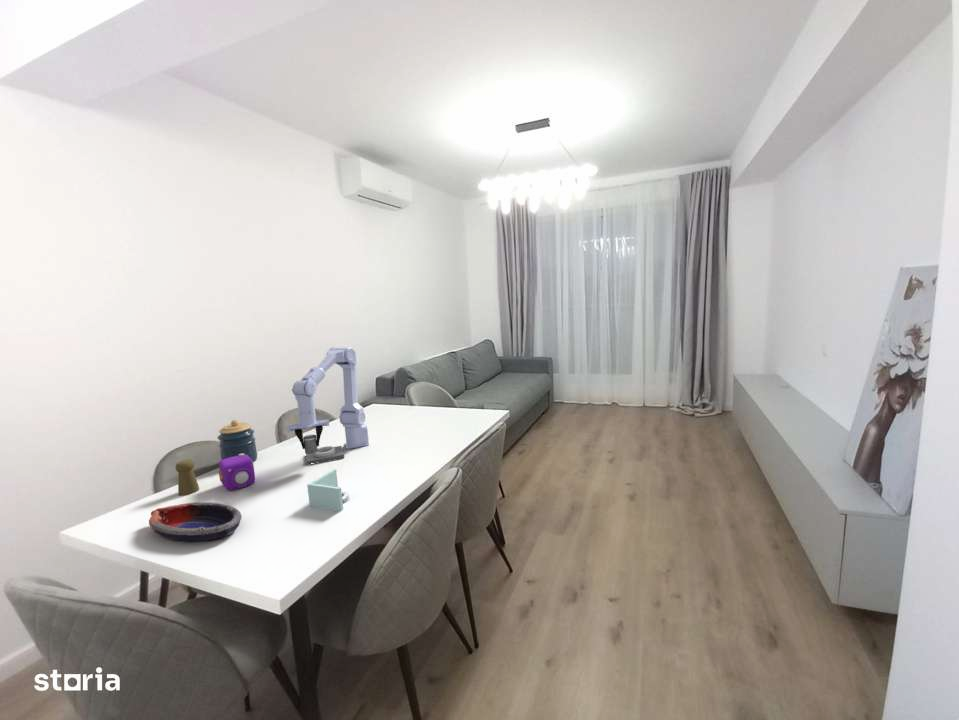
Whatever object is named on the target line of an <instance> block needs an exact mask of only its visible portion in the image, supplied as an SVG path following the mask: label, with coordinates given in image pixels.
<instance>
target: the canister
mask: <svg viewBox="0 0 959 720" xmlns="http://www.w3.org/2000/svg"><path fill="white" fill-rule="evenodd" d="M218 433H219V435H218V436H217V440H218V441H219V443H218V447H219V455H220V461H221V460H223V459H227V458H230V457H234V456H238V455H239V454H241V453H244V454H246V455H248V456H249V457H250V458H251V459H252V461H253V463H254V462H255V461H257V459H258V450H257V445H256V438H255V437H254V433H255V430H254V429H252V425H251V424H248V423H247V422H239V421H238V420H236V419H233V420H232V421H231V422H230V424H227V425H225V426H223V427H222V428H220V430H219V431H218Z"/></svg>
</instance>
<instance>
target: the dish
mask: <svg viewBox="0 0 959 720" xmlns="http://www.w3.org/2000/svg"><path fill="white" fill-rule="evenodd" d="M242 516H243V515H242V513H241V511H240V510H238V509H237V508H236V507H234V506H233V505H229V504H226V503H225V504H224V503H220V502H211V501H210V502H208V501H198V502H197V501H196V502H187V503H180V504H175V505H169V506H165V507H160V508H157V509H154V510H151V512H150V517H149V519H148V525H149V527H150V528H151V530H153V532H154V533H155V534H157V535H159V536H160V537H162V538H164V539H168V540H172V541H173V540H174V541H179V542H180V541H182V542H203V541H204V542H205V541H210V540H211V541H213V540H217V539H221V538H224V537H227V536H229V535H231V534H232V533H234V532H235V531H236V530H237V528H238V527H239V526H240V524H241V523H240V522H241V520H242V518H243V517H242Z"/></svg>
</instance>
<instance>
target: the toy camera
mask: <svg viewBox="0 0 959 720" xmlns="http://www.w3.org/2000/svg"><path fill="white" fill-rule="evenodd" d="M255 474H256V473H255V466H254V462H253V461H252V459H251V458H250V457H249V456H248V455H246V454H244V453H241V454H239V455H238V456H234V457H230V458H227V459H223V460H221V459H220V461H219V462H218V475H219V476H218V477H219V482H221V484H222V486H223V487H224V489H225V490H226V491H235V490H237V489H241V488H243V487H244V488H245V487H247V486H250V485H252V484H254V483H255V482H256V475H255Z"/></svg>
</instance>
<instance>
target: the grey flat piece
mask: <svg viewBox="0 0 959 720" xmlns="http://www.w3.org/2000/svg"><path fill="white" fill-rule="evenodd" d="M317 449H318V451H317V452H316V453H312V454H306V453H305V457H306V458H305V459H306V465H307V464H311V463H316V464H318V463H317V462H321V463H324V462H323V461H327V462H330V461H329V460H332V461H335V460H334V459H337V460H341V459H340V458H342V459H344V458H345V453H344V451H343V447H342V445H337V446H328V445H326V446H321V447H320V446H319V447H317ZM311 465H312V464H311Z"/></svg>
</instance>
